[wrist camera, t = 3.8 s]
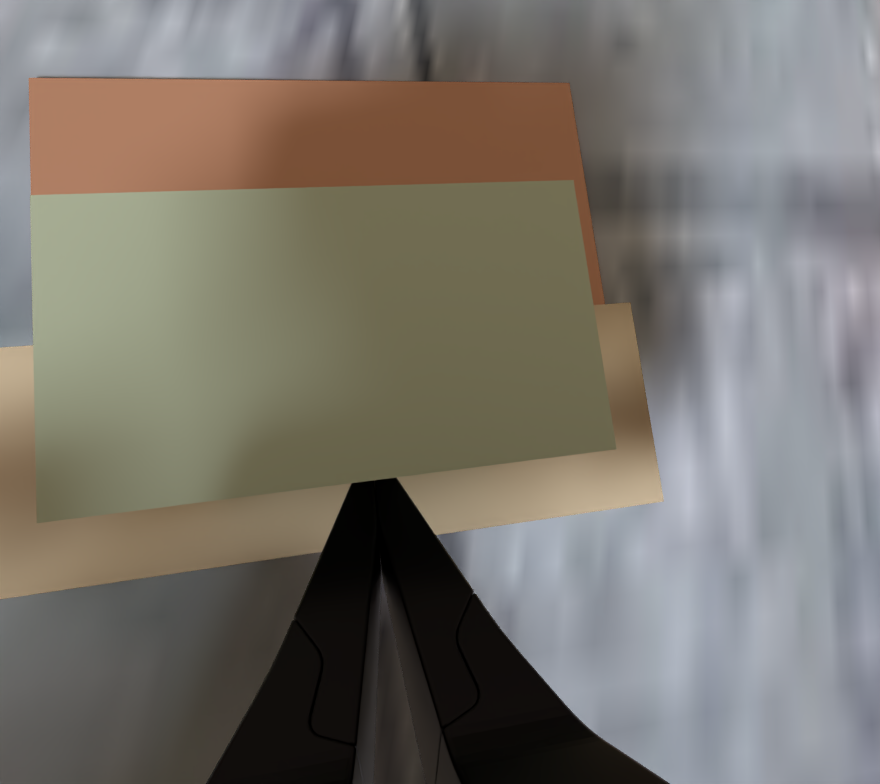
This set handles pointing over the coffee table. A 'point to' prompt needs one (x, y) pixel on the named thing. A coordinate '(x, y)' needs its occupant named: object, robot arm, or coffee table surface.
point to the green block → (305, 339)
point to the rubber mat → (301, 136)
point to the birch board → (307, 494)
